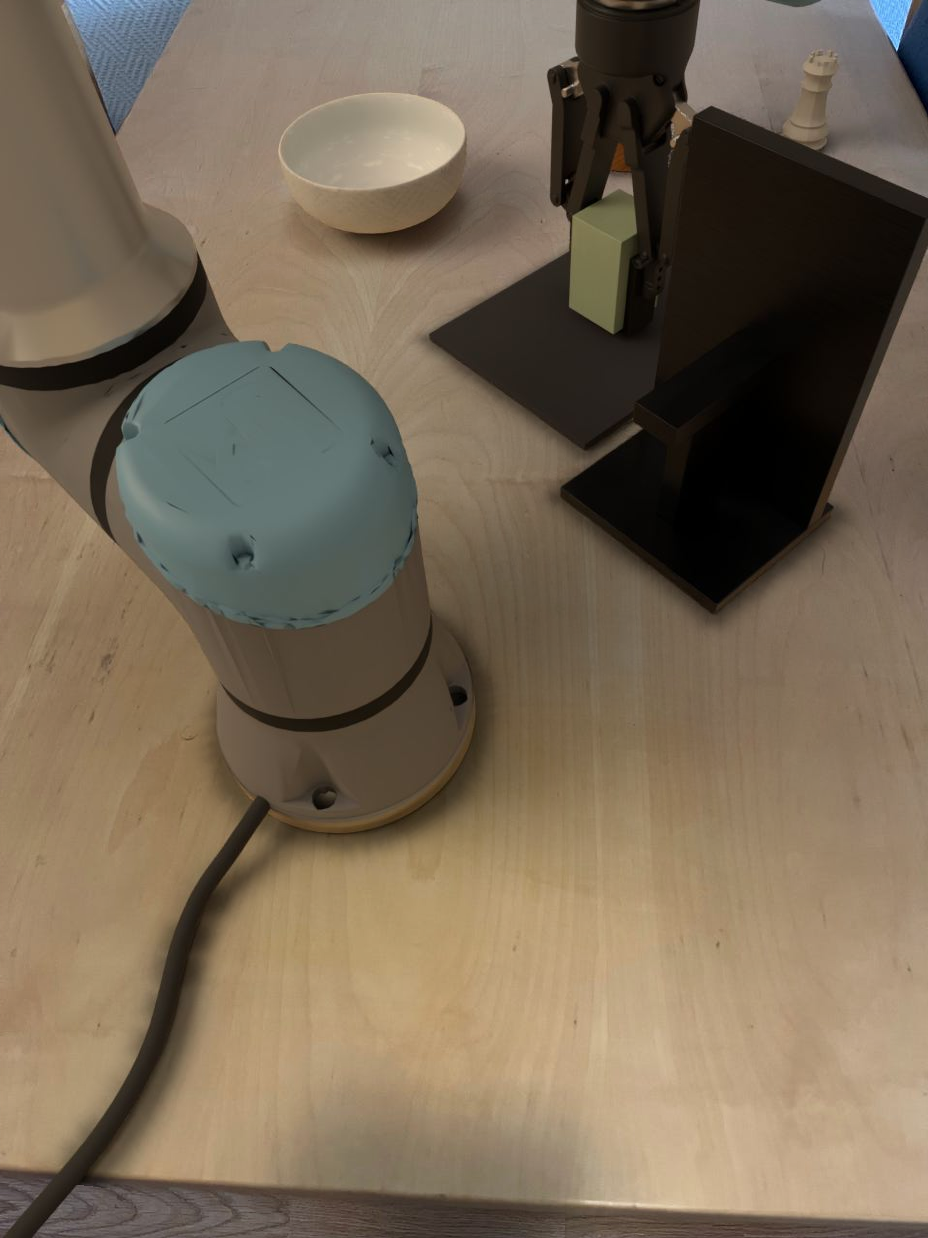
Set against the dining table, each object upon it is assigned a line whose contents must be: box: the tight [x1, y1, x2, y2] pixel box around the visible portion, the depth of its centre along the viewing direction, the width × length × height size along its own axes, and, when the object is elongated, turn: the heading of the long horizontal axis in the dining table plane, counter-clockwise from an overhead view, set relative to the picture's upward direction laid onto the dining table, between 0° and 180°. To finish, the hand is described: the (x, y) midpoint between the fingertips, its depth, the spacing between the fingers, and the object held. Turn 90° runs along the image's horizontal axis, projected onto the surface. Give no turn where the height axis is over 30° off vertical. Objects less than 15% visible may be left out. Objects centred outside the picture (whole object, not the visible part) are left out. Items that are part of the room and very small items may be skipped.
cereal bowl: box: [277, 92, 468, 235], centre depth 83 cm, size 17×17×7 cm
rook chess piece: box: [780, 48, 840, 151], centre depth 85 cm, size 4×4×8 cm
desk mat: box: [428, 250, 672, 451], centre depth 74 cm, size 24×18×1 cm
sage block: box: [569, 188, 658, 334], centre depth 70 cm, size 5×5×8 cm
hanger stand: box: [559, 105, 928, 615], centre depth 53 cm, size 12×14×23 cm
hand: (611, 309), depth 74 cm, fingers closed on sage block, 5 cm apart
